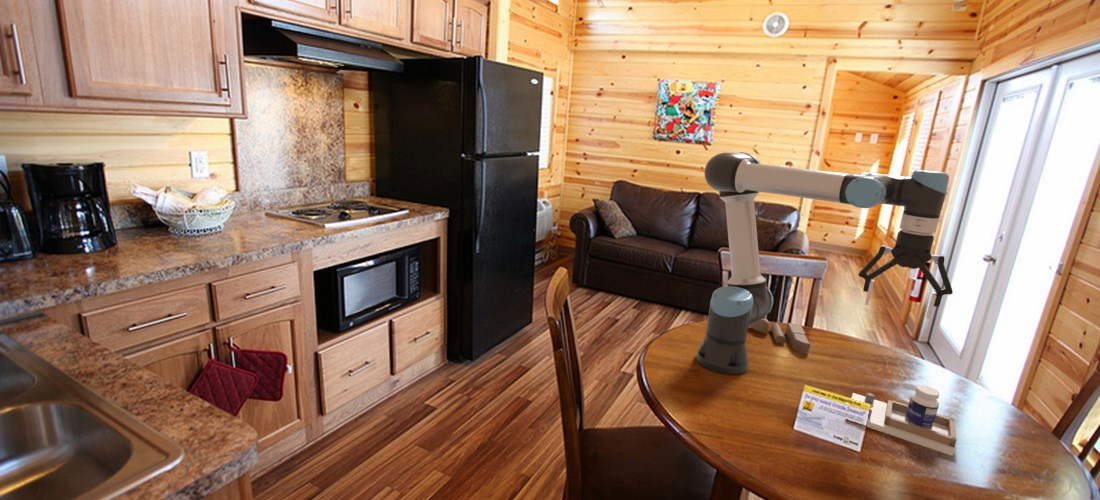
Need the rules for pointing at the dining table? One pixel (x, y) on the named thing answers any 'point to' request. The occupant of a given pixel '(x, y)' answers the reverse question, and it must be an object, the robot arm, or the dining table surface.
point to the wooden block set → (792, 332)
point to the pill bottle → (923, 407)
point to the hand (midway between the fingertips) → (896, 310)
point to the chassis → (909, 425)
